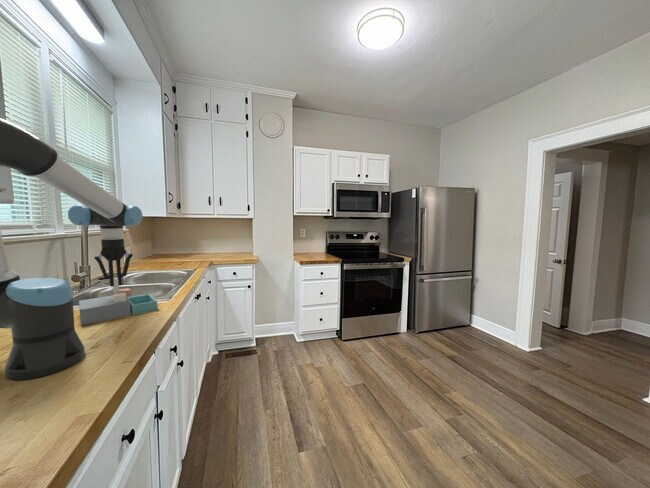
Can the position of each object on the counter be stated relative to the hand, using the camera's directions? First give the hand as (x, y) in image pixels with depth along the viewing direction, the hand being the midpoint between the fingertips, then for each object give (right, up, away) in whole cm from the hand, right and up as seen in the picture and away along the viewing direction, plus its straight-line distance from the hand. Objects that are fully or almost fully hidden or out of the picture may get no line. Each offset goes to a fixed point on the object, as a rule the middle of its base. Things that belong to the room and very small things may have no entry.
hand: (116, 293), depth 113 cm
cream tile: (+5, -2, -5) cm, 7 cm away
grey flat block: (-1, -8, -5) cm, 9 cm away
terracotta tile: (+2, -1, +2) cm, 3 cm away
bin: (+8, -7, +4) cm, 12 cm away
